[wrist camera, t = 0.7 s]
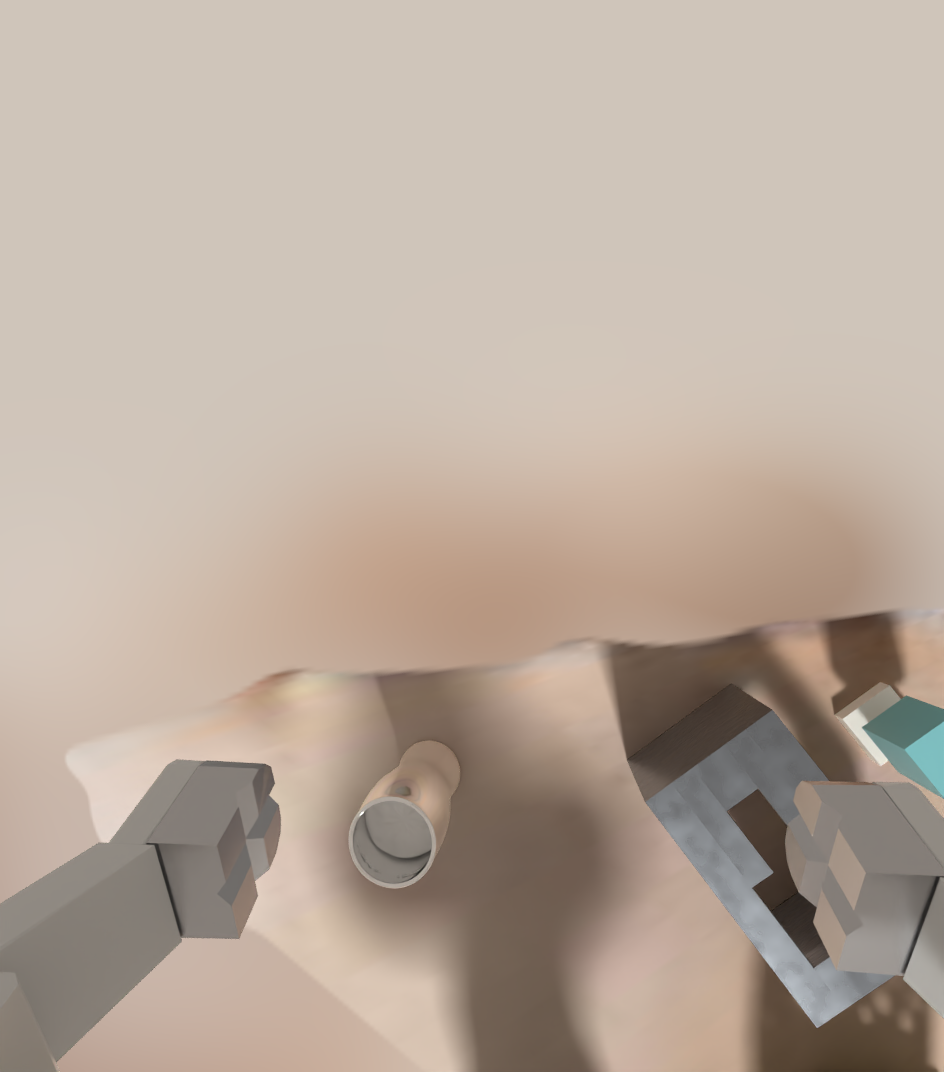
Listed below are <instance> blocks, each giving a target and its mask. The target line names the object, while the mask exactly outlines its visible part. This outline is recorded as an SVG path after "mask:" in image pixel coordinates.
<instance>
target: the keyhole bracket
mask: <svg viewBox="0 0 944 1072" xmlns="http://www.w3.org/2000/svg"><path fill="white" fill-rule="evenodd" d="M627 761H628V763H629V766H630V768H631V770H632V773H633V775H634V777H635V780H636V782H637V784H638V787H639V789H640V791H641V793H642V796H643V798H644V800H645V802H646V804H647V805H648V806H649V808H650V809H651V810H652V812H653V813H654V814H655V816H656V817H657V818H658V820H659V821H660V822H661V823H662V825H663V826H664V827H665V829H666V830H667V831H668V833H669V834H670V835H671V837H672V838H673V839H674V841H675V842H676V843H677V845H678V846H679V847H680V848H681V850H682V851H683V852H684V854H685V855H686V856H687V858H688V859H689V860H690V862H691V863H692V864H693V866H694V867H695V868H696V870H697V871H698V872H699V873H700V875H701V876H702V877H703V879H704V880H705V881H706V883H707V884H708V885H709V887H710V888H711V889H712V891H713V892H714V893H715V895H716V896H717V897H718V899H719V900H720V901H721V902H722V904H723V905H724V906H725V908H726V909H727V910H728V912H729V913H730V914H731V916H732V917H733V918H734V920H735V921H736V922H737V924H738V925H739V926H740V927H741V929H742V930H743V931H744V933H745V934H746V935H747V937H748V938H749V939H750V941H751V942H752V943H753V945H754V946H755V947H756V949H757V950H758V951H759V952H760V954H761V955H762V956H763V958H764V959H765V960H766V962H767V963H768V964H769V966H770V967H771V968H772V970H773V971H774V972H775V974H776V975H777V976H778V977H779V979H780V980H781V981H782V983H783V984H784V985H785V987H786V988H787V989H788V991H789V992H790V993H791V995H792V996H793V997H794V999H795V1000H796V1001H797V1003H798V1004H799V1005H800V1006H801V1008H802V1009H803V1010H804V1012H805V1013H806V1014H807V1016H808V1017H809V1018H810V1020H811V1021H812V1022H813V1024H814V1025H815V1026H816V1028H818V1027H820V1026H821V1025H823V1024H824V1023H826V1022H827V1021H829V1020H830V1019H832V1018H833V1017H835V1016H836V1015H838V1014H839V1013H840V1012H842V1011H843V1010H845V1009H846V1008H848V1007H849V1006H851V1005H852V1004H854V1003H855V1002H857V1001H858V1000H860V999H861V998H863V997H864V996H866V995H867V994H868V993H870V992H871V991H873V990H874V989H876V988H877V987H879V986H880V985H882V984H883V983H885V982H886V981H888V980H889V979H891V978H892V977H894V976H895V975H887V974H874V973H862V972H850V971H838V970H836V969H835V966H834V964H833V962H832V960H831V958H830V956H829V954H828V952H827V950H826V948H825V946H824V944H823V942H822V940H821V938H820V936H819V934H818V931H817V929H816V927H815V925H814V923H813V921H814V917H815V913H816V909H817V907H816V906H814V905H813V904H812V903H811V902H810V901H808V900H807V899H806V898H805V897H804V896H802V895H801V894H800V893H799V892H798V893H797V894H795V895H794V896H792V897H791V898H789V899H788V900H787V901H785V902H784V903H782V904H781V905H779V906H778V907H777V908H775V909H774V910H772V911H770V909H769V908H768V907H767V905H766V904H765V903H764V901H763V900H762V899H761V897H760V896H759V895H758V894H757V892H756V891H755V890H754V888H753V887H754V886H755V885H757V884H758V883H760V882H761V881H763V880H764V879H765V878H767V877H768V876H770V875H771V874H772V873H774V872H773V871H772V870H771V868H770V867H769V866H768V864H767V863H766V862H765V861H764V859H763V858H762V857H761V855H760V854H759V853H758V851H757V850H756V849H755V848H754V846H753V845H752V844H751V842H750V841H749V840H748V839H747V837H746V836H745V835H744V833H743V832H742V831H741V830H740V828H739V827H738V826H737V824H736V823H735V822H734V821H733V819H732V818H731V817H730V815H729V814H728V813H727V811H728V810H729V809H730V808H732V807H733V806H735V805H736V804H737V803H739V802H740V801H741V800H743V799H744V798H746V797H747V796H748V795H750V794H751V793H753V792H754V791H755V790H757V789H758V790H759V791H760V793H761V794H762V795H763V796H764V798H765V799H766V800H767V802H768V803H769V804H770V805H771V807H772V808H773V809H774V810H775V812H776V813H777V814H778V816H779V817H780V818H781V819H782V821H783V822H784V823H785V824H786V826H788V823H789V822H790V821H792V820H793V819H794V818H795V817H796V816H798V815H799V814H800V813H799V811H798V809H797V807H796V805H795V803H794V802H793V799H794V795H795V791H796V788H797V786H798V785H799V784H800V782H801V781H829V780H828V779H827V777H826V776H825V775H824V774H823V772H822V771H821V770H820V769H819V767H818V766H817V765H816V764H815V762H814V761H813V760H812V759H811V757H810V756H809V755H808V754H807V752H806V751H805V750H804V749H803V747H802V746H801V745H800V744H799V742H798V741H797V740H796V739H795V737H794V736H793V735H792V734H791V733H790V731H789V730H788V729H787V728H786V726H785V725H784V724H783V723H782V721H781V720H780V719H779V718H778V716H777V715H776V714H775V713H774V711H773V710H772V709H770V708H769V707H767V706H765V705H764V704H762V703H761V702H759V701H758V700H756V699H754V698H753V697H751V696H750V695H748V694H747V693H745V692H744V691H742V690H740V689H739V688H737V687H736V686H734V685H733V684H730V685H729V686H727V687H726V688H725V689H723V690H722V691H721V692H719V693H718V694H717V695H715V696H714V697H712V698H711V699H710V700H708V701H707V702H706V703H704V704H703V705H701V706H700V707H699V708H697V709H696V710H695V711H693V712H692V713H691V714H689V715H688V716H686V717H685V718H684V719H682V720H681V721H680V722H678V723H677V724H676V725H674V726H673V727H671V728H670V729H669V730H667V731H666V732H665V733H663V734H662V735H660V736H659V737H658V738H656V739H655V740H654V741H652V742H651V743H650V744H648V745H647V746H645V747H644V748H643V749H641V750H640V751H639V752H637V753H636V754H634V755H633V756H632V757H630V758H629V759H628V760H627Z"/></svg>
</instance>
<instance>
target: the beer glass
mask: <svg viewBox="0 0 944 1072" xmlns="http://www.w3.org/2000/svg"><path fill="white" fill-rule="evenodd" d="M459 781H460V765H459V762H458V760H457V758H456V756H455V754H454V753H453V752H452V750H451V749H449V748H448V747H447V746H446V745H444V744H442V743H440V742H437V741H431V740H426V741H421V742H418V743H415V744H414V745H412V746H411V747H409V748H408V749H407V750H406V752H405V753H404V754H403V756H402V758H401V760H400V763H399V767H397V768H395V769H394V770H392V771H390V772H389V773H388V774H386V775H385V776H384V777H382V778H381V779H380V780H379V781H378V782H377V783H376V785H375V786H374V787H373V788H372V789H371V791H370V792H369V793H368V795H367V797H366V798H365V800H364V801H363V803H362V805H361V807H360V809H359V811H358V813H357V814H356V816H355V817H354V819H353V821H352V824H351V827H350V830H349V839H348V842H349V850H350V854H351V857H352V860H353V862H354V864H355V866H356V867H357V869H358V870H359V871H360V872H361V874H362V875H363V876H364V877H366V878H367V879H368V880H370V881H371V882H373V883H375V884H377V885H379V886H382V887H386V888H403V887H406V886H409V885H412V884H414V883H415V882H417V881H418V880H420V879H421V878H422V877H423V876H424V875H425V874H426V873H427V872H428V870H429V869H430V867H431V865H432V863H433V860H434V858H435V857H436V855H437V853H438V851H439V849H440V847H441V845H442V843H443V840H444V838H445V835H446V832H447V829H448V825H449V820H450V808H451V805H450V797H451V796H452V795H453V794H454V792H455V791H456V789H457V787H458V785H459Z"/></svg>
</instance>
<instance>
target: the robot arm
mask: <svg viewBox="0 0 944 1072" xmlns="http://www.w3.org/2000/svg"><path fill="white" fill-rule="evenodd" d="M274 784H275V782H274V778H273V773H272V769H271V767H270V766H268V765H266V764H258V763H241V762H223V761H193V760H178V759H177V760H175V761H173V762H171V763H170V764H168V765H167V766H166V767H165V769H164V770H163V771H162V773H161V774H160V775H159V777H158V778H157V779H156V781H155V782H154V783H153V785H152V786H151V787H150V789H149V790H148V791H147V793H146V794H145V795H144V797H143V798H142V799H141V801H140V802H139V803H138V805H137V806H136V807H135V809H134V810H133V811H132V813H131V814H130V815H129V817H128V818H127V819H126V821H125V822H124V823H123V825H122V826H121V827H120V829H119V830H118V831H117V832H116V834H115V835H114V836H113V838H112V839H111V840H110V842H109V843H98V844H96V845H95V846H93V847H92V848H90V849H88V850H86V851H85V852H83V853H81V854H80V855H78V856H77V857H75V858H73V859H72V860H70V861H68V862H67V863H65V864H64V865H62V866H60V867H59V868H57V869H56V870H54V871H52V872H51V873H49V874H47V875H46V876H44V877H43V878H41V879H39V880H38V881H36V882H34V883H33V884H31V885H30V886H28V887H26V888H25V889H23V890H22V891H20V892H18V893H17V894H15V895H14V896H12V897H10V898H9V899H7V900H5V901H4V902H2V903H1V904H0V1072H60V1070H59V1068H58V1066H57V1063H56V1062H57V1061H58V1060H59V1059H60V1058H61V1057H62V1056H63V1055H64V1054H66V1053H67V1052H68V1050H70V1049H71V1048H72V1047H73V1046H74V1045H75V1044H76V1043H77V1042H78V1041H79V1040H80V1039H81V1038H82V1037H83V1036H84V1035H85V1034H86V1033H87V1032H88V1031H89V1030H90V1029H91V1028H93V1027H94V1025H96V1024H97V1023H98V1022H99V1021H100V1020H101V1019H102V1018H103V1017H104V1016H105V1015H106V1014H107V1013H108V1012H109V1011H110V1010H111V1009H112V1008H113V1007H114V1006H115V1005H116V1004H117V1003H118V1002H119V1001H120V1000H121V999H123V998H124V997H125V996H126V995H127V994H128V993H129V992H130V991H131V990H132V989H133V988H134V987H135V986H136V985H137V984H138V983H139V982H140V981H141V980H142V979H143V978H144V977H145V976H146V975H147V974H148V973H150V971H152V970H153V969H154V968H155V967H156V966H157V965H158V964H159V963H160V962H161V961H162V960H163V959H164V958H165V957H166V956H167V955H168V954H169V953H170V952H171V951H172V950H173V949H174V948H175V947H176V946H178V945H179V943H181V941H182V939H181V938H225V939H227V938H228V939H239V938H240V936H241V933H242V931H243V929H244V927H245V924H246V922H247V920H248V917H249V915H250V913H251V911H252V908H253V906H254V904H255V901H256V899H257V897H258V894H257V889H256V884H255V881H256V880H257V879H258V878H259V877H260V876H262V875H263V874H264V873H265V872H267V871H268V870H269V869H270V866H271V864H272V861H273V859H274V857H275V854H276V851H277V847H278V842H279V837H280V832H281V816H280V810H279V805H278V804H277V803H276V802H275V801H274V800H273V799H272V798H271V797H270V796H269V794H270V792H271V790H272V788H273V786H274ZM793 802H794V803H795V805H796V807H797V809H798V811H799V813H800V814H799V815H798V816H796V817H795V818H794V819H793V820H792V821H790V822H789V823H788V826H787V832H786V837H785V848H786V859H787V863H788V867H789V870H790V873H791V877H792V879H793V881H794V883H795V885H796V887H797V890H798V892H799V893H800V894H801V895H802V896H804V897H805V898H806V899H807V900H808V901H810V902H811V903H812V904H813V905H814V906H816V907H817V909H816V913H815V917H814V921H813V923H814V925H815V927H816V929H817V931H818V934H819V936H820V938H821V940H822V942H823V944H824V946H825V948H826V950H827V952H828V954H829V956H830V958H831V960H832V962H833V964H834V966H835V969H836V970H838V971H850V972H862V973H874V974H887V975H899V976H904V978H903V980H904V981H905V982H906V983H907V984H908V985H909V986H910V987H911V988H912V989H913V990H915V991H916V992H917V993H918V994H919V995H920V996H921V997H922V998H923V999H924V1000H925V1001H926V1002H927V1003H928V1004H929V1005H930V1006H931V1007H932V1008H933V1009H934V1010H935V1011H936V1012H937V1013H938V1014H939V1015H941V1016H942V1017H943V1018H944V818H943V817H942V816H941V815H940V813H939V812H938V811H937V810H936V809H935V807H934V806H933V805H932V804H931V803H930V801H929V800H928V799H927V798H926V797H925V795H924V794H923V793H922V792H921V791H920V790H919V789H918V788H917V787H915V786H914V785H912V784H910V783H898V782H872V783H868V782H833V781H801V782H800V784H799V785H798V786H797V788H796V791H795V795H794V799H793Z"/></svg>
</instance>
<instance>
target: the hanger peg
mask: <svg viewBox="0 0 944 1072" xmlns="http://www.w3.org/2000/svg"><path fill="white" fill-rule="evenodd" d="M835 716H836V718H837V719H838V720H839V721H840V722H841V724H842V725H843V726H844V727H845V729H846V730H847V731H848V732H849V734H850V735H851V736H852V737H853V738H854V740H855V741H856V742H857V743H858V745H859V746H860V747H861V748H862V749H863V751H864V752H865V753H866V754H867V756H868V757H869V758H870V759H871V761H873V762H875V763H876V764H878V765H880V766H882V765H883V764H884V763H886V762H887V761H890V763H891V764H892V765H893V766H894V768H895V769H896V770H897V771H898V772H899V773H901V774H902V775H904V776H906V777H908V778H909V779H911V780H913V781H914V782H916V783H918V784H919V785H921V786H923V787H925V788H926V789H928V790H930V791H931V792H933V793H935V794H936V795H938V796H940V797H942V798H943V799H944V709H942V708H939V707H936V706H933V705H931V704H928V703H925V702H922V701H920V700H917V699H914V698H912V697H909V696H905V697H904V698H902V699H901V698H900V697H899V696H898V695H897V694H896V692H895V691H894V690H893V689H892V688H891V686H890V685H887V684H884V683H882V682H879V683H878V684H877V685H875V686H874V687H872V688H871V689H870V690H868V691H867V692H865V693H864V694H863V695H861V696H860V697H858V698H857V699H856V700H854V701H853V702H851V703H850V704H849V705H847V706H846V707H845V708H843V709H842V710H840V711H839V712H838V713H836V714H835Z"/></svg>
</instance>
